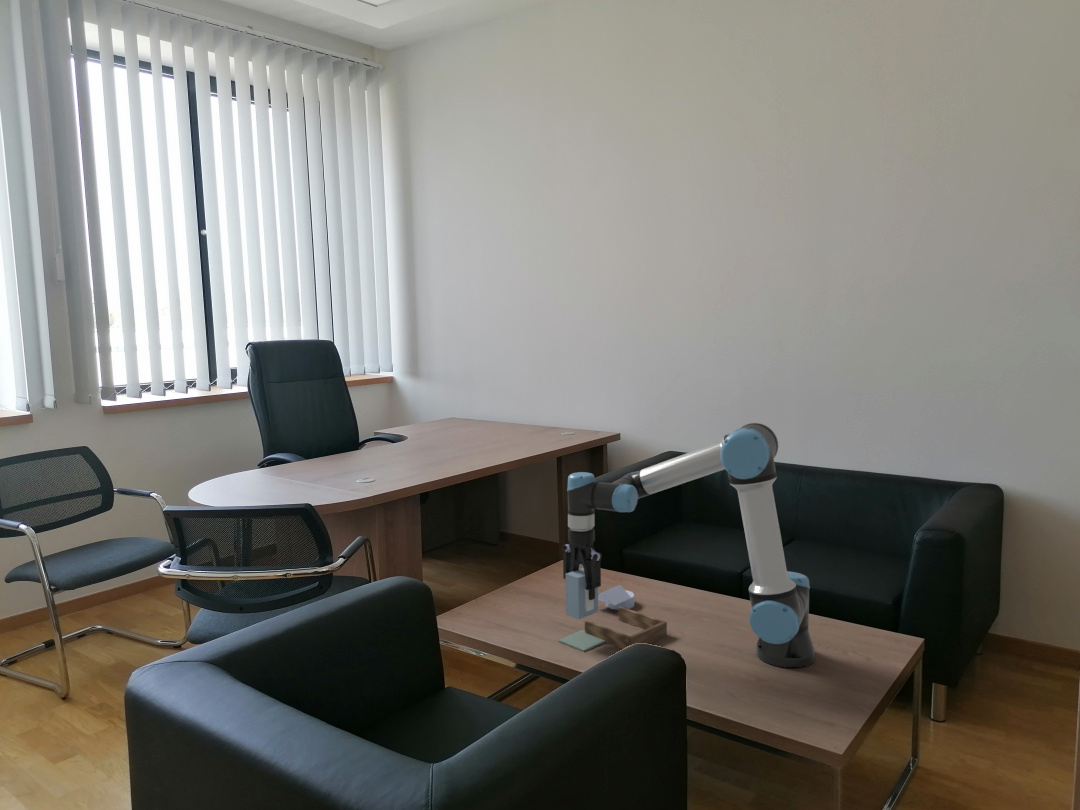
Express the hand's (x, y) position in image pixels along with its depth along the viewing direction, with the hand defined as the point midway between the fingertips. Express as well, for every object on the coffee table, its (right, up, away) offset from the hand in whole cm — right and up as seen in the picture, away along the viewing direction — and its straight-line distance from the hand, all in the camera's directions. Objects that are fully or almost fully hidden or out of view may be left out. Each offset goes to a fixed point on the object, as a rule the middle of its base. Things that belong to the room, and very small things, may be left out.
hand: (582, 607), depth 225 cm
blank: (0, -2, 0) cm, 2 cm away
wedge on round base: (+12, -7, +28) cm, 31 cm away
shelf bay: (+12, -9, +6) cm, 17 cm away
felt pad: (0, -10, +1) cm, 10 cm away
